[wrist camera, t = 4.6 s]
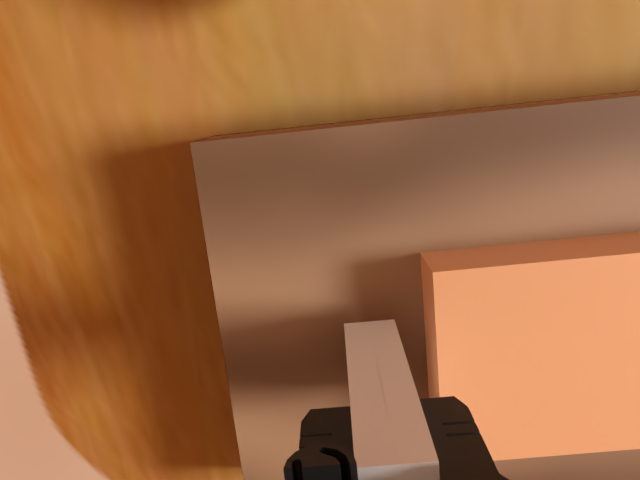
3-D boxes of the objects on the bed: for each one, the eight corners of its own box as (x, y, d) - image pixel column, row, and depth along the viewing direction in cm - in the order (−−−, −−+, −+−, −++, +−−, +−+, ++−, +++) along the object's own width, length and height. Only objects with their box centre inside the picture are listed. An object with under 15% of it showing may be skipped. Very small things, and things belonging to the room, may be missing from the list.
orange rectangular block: (420, 252, 16) (432, 272, 15) (721, 223, 16) (774, 240, 14) (430, 425, 18) (443, 464, 16) (707, 402, 18) (754, 439, 16)
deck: (216, 135, 20) (189, 142, 16) (897, 63, 19) (1046, 52, 15) (265, 467, 23) (253, 540, 19) (845, 419, 22) (956, 486, 18)
